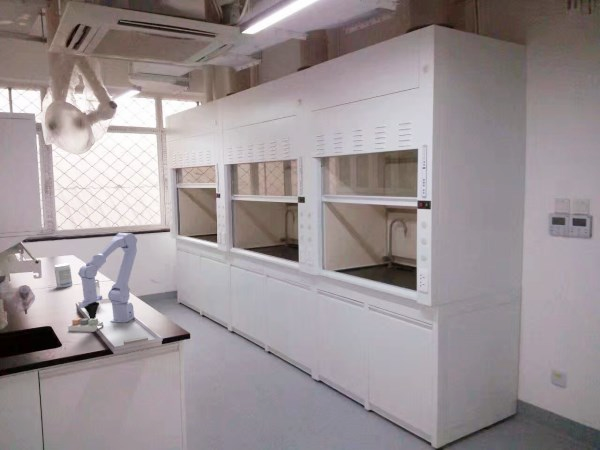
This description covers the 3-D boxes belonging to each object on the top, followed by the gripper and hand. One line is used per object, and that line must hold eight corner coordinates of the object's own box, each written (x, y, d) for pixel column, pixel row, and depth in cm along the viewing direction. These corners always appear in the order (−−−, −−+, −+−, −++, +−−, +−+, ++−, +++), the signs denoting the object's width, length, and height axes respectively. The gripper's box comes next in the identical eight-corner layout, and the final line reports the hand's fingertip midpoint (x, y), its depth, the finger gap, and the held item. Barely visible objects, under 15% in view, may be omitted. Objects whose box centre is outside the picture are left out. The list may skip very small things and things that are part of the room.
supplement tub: (75, 284, 327) (73, 263, 325) (66, 287, 318) (63, 266, 316) (63, 284, 329) (60, 263, 327) (53, 288, 320) (50, 266, 318)
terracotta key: (82, 323, 231) (81, 318, 231) (77, 325, 228) (77, 320, 228) (76, 322, 232) (76, 318, 232) (72, 325, 229) (72, 320, 229)
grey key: (90, 323, 230) (89, 318, 230) (86, 325, 227) (85, 320, 227) (84, 323, 231) (84, 318, 231) (80, 325, 228) (80, 320, 228)
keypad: (103, 326, 231) (102, 321, 231) (93, 331, 224) (93, 326, 224) (78, 326, 234) (77, 320, 234) (68, 331, 228) (67, 325, 227)
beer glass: (85, 308, 265) (82, 282, 263) (95, 304, 271) (92, 279, 269) (95, 309, 262) (92, 282, 261) (104, 305, 269) (101, 279, 267)
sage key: (98, 323, 229) (97, 318, 229) (94, 325, 226) (93, 320, 226) (92, 323, 230) (92, 318, 230) (88, 325, 227) (88, 320, 227)
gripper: (92, 286, 234) (95, 313, 236) (71, 294, 220) (75, 323, 222) (104, 286, 232) (107, 313, 234) (85, 294, 218) (88, 323, 220)
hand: (92, 318), depth 228 cm, fingers closed
